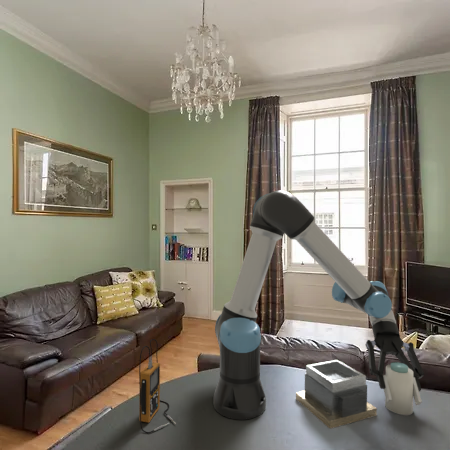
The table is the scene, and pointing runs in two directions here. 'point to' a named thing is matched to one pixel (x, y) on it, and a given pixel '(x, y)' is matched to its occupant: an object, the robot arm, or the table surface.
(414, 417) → the table surface
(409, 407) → the cream bottle
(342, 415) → the grey open box
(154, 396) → the multimeter
